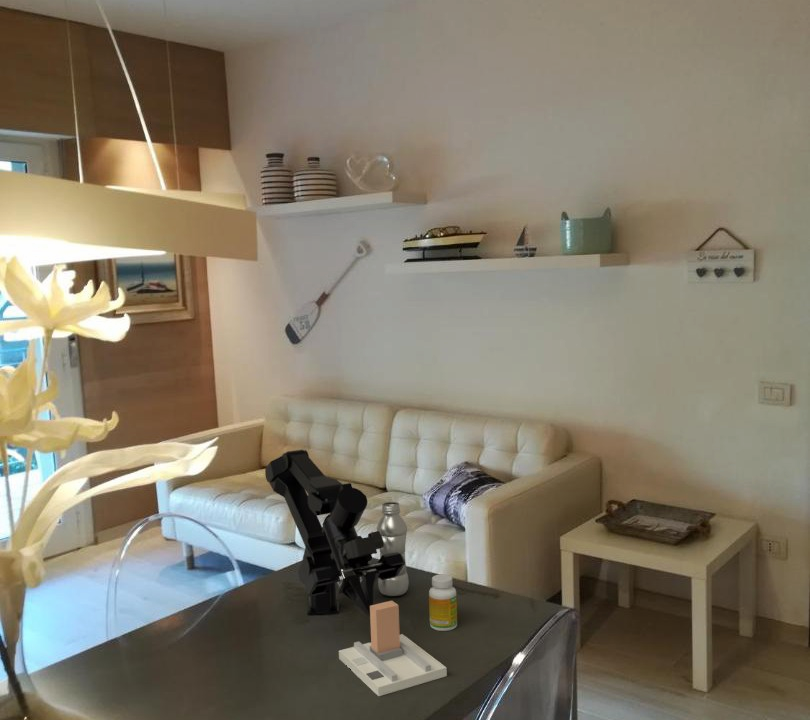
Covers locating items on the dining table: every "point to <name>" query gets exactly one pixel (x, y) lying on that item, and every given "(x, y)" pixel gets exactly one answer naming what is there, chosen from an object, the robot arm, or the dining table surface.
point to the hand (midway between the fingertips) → (370, 614)
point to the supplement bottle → (442, 603)
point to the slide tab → (385, 630)
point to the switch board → (392, 667)
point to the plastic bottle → (393, 547)
